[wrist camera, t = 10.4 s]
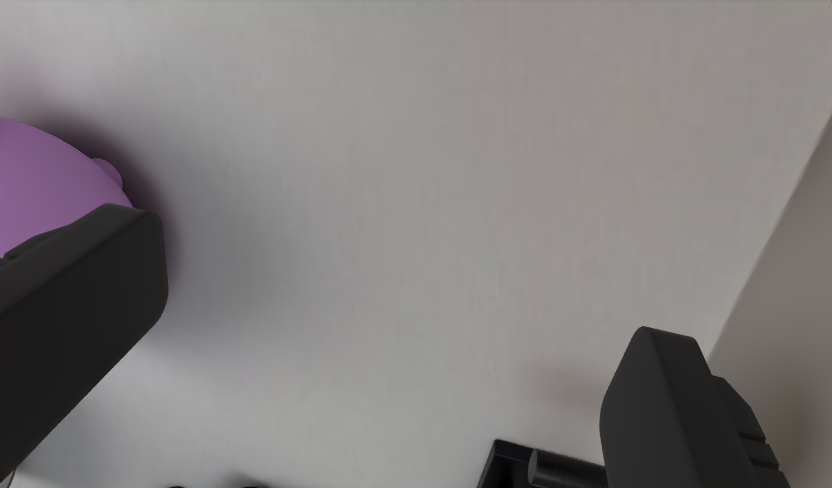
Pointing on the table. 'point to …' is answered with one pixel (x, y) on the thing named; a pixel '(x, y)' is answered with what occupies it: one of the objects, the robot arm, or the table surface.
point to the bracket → (506, 467)
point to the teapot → (48, 183)
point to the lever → (564, 472)
